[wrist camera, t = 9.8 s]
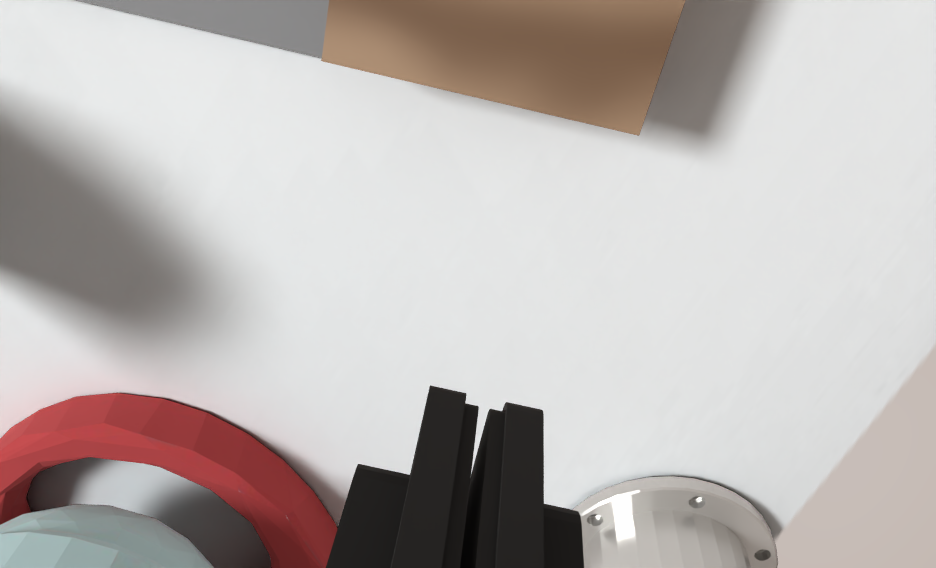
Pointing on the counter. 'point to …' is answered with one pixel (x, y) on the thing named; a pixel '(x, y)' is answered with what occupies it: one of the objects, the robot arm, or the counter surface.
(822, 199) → the counter surface
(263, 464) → the stand mixer
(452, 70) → the board
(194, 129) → the counter surface
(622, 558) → the robot arm
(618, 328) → the counter surface
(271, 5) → the mat
